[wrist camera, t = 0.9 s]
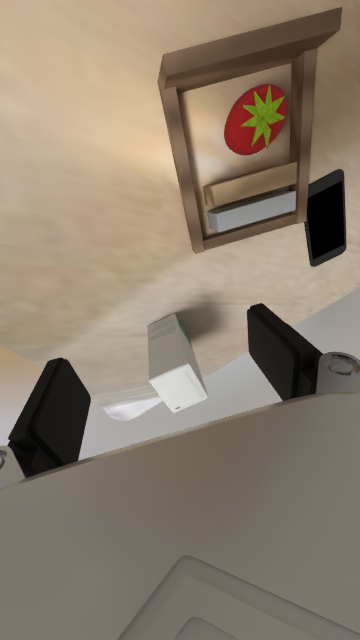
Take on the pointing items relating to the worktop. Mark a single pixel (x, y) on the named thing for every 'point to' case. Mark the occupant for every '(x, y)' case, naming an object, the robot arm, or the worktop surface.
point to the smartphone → (326, 218)
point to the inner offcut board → (250, 184)
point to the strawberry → (255, 119)
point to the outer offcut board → (251, 210)
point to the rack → (234, 61)
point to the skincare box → (173, 365)
